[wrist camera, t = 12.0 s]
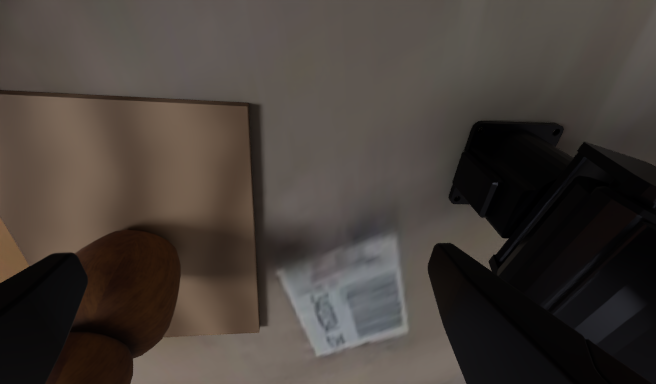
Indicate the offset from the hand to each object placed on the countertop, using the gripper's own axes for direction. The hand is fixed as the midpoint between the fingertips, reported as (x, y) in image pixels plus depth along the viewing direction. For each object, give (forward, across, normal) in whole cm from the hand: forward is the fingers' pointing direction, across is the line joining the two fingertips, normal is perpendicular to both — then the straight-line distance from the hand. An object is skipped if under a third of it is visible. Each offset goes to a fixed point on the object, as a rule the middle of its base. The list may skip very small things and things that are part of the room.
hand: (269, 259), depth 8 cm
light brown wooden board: (+14, +10, +11) cm, 20 cm away
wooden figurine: (+13, +10, +11) cm, 19 cm away
